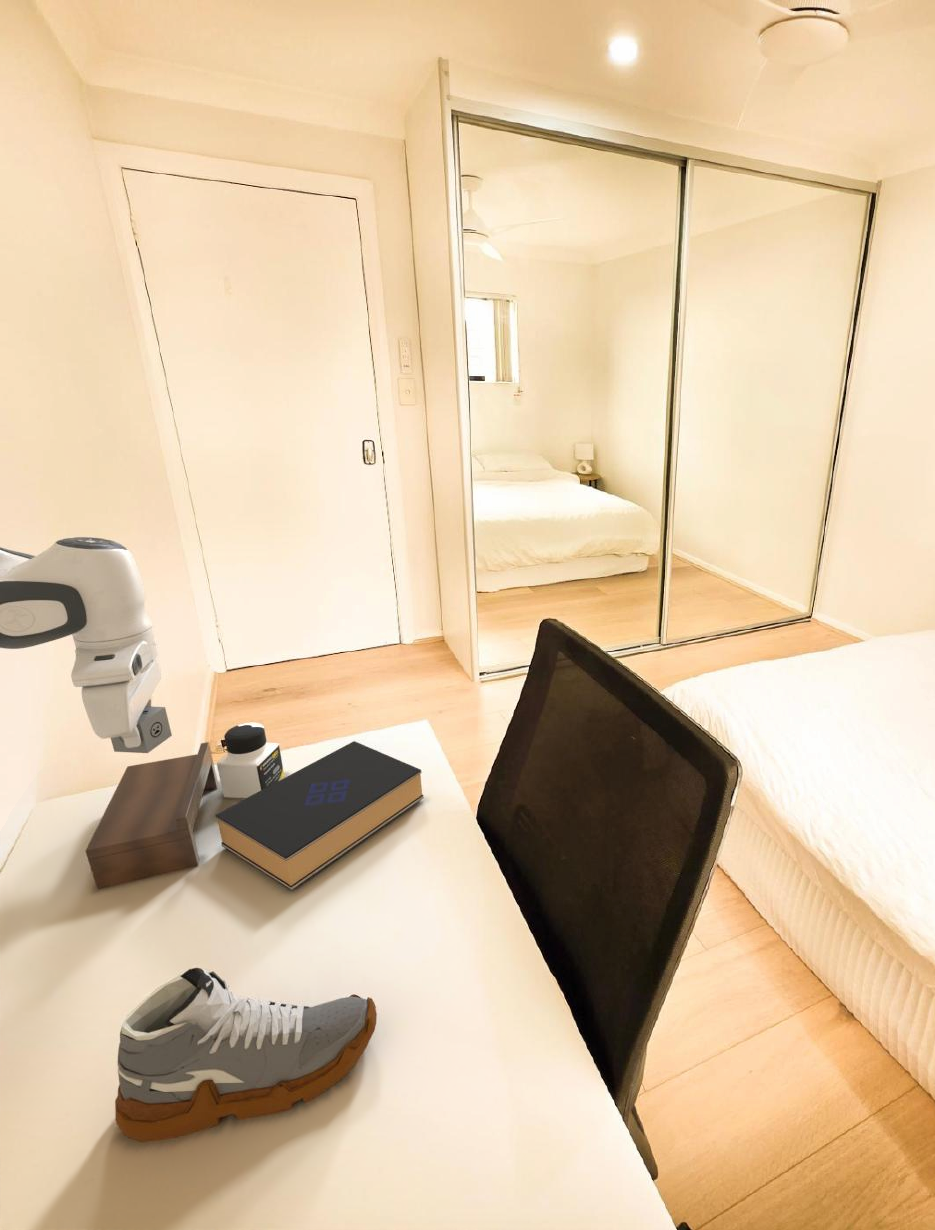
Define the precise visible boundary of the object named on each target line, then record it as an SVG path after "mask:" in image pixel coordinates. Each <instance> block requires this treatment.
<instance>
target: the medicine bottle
mask: <svg viewBox="0 0 935 1230" xmlns="http://www.w3.org/2000/svg"><path fill="white" fill-rule="evenodd" d="M266 735H267V734H266V729H265V727H264V725H262V724H261V723H258V722H245V723H241V724H240V723H239V724H238V725H235V726H233V727H231V728H229V729H228V730H226V732H225V733H224V735H223V737H224V742H225V747H226V752H227V753H226V755H224V756H223V757H222V758H221V759H220V760H218V762H216V767H217V771H218V776H219V780H220V785H221V790H222V795H223V797H224V798H232V799H246V798H248V797H250V796H251V795H253V794H255V793H257V792H259V791H261V790H263V789H265V788H266V787H268V786H270V785H272V784H274V783H276V782H278V781H280V780H282V779H283V778H285V772H284V771H285V770H284V766H283V761H282V754H281V749H280V744H279V743H276V742H268V741H267V736H266Z"/></svg>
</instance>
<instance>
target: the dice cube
mask: <svg viewBox="0 0 935 1230" xmlns="http://www.w3.org/2000/svg"><path fill="white" fill-rule="evenodd" d="M136 726H137V728H138V731H139V732H140V734H141V738H142V742H141V744H140V746H138V747H132V748H127V747H126V746H125V743H124V739H123V738H122V737H121V736H119V737H113V738H110V742H111V745H112V749H113V751H114V753H131V754H132V753H134V754H149V753H150V752H152V751H153V750H154V749H156V748H158V747H159V746H160V745H161V744H162V743H164V742H165V741H167V740H168V739H169V738H171V737H173V735H172V730H171V726H170V722H169V718H168V713H167V710H166V707H165V706H152V707H151V706H145V708H144V710H143V712H142V714H141V716H140V717H139V719H138V721H137V725H136Z"/></svg>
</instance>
